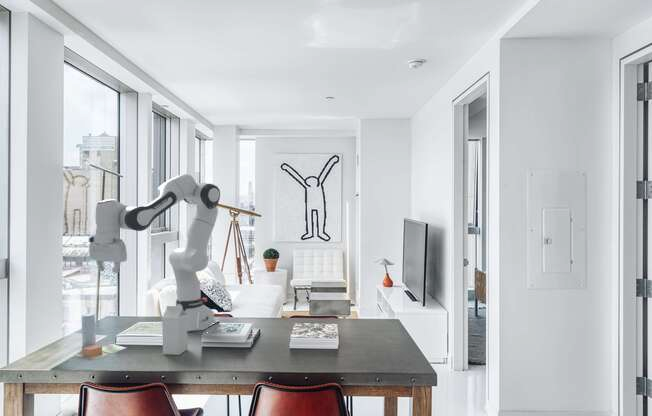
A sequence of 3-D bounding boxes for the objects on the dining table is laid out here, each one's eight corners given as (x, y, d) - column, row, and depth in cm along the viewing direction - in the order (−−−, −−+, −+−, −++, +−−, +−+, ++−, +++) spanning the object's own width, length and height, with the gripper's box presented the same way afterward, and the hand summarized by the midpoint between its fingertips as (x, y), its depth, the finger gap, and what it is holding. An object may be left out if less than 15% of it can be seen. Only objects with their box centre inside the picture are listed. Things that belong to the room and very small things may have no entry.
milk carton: (178, 355, 181) (177, 308, 181) (162, 354, 182) (161, 307, 182) (187, 349, 188) (186, 304, 187) (172, 348, 189) (171, 303, 189)
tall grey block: (91, 345, 195) (90, 313, 195) (98, 347, 193) (97, 314, 192) (79, 348, 191) (79, 316, 190) (86, 350, 188) (86, 317, 188)
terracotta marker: (94, 351, 184) (94, 344, 184) (102, 353, 181) (102, 346, 181) (82, 355, 179) (82, 347, 179) (90, 357, 177) (90, 349, 177)
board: (111, 346, 194) (111, 343, 194) (127, 350, 188) (127, 347, 188) (74, 357, 180) (74, 355, 180) (91, 362, 174) (91, 359, 174)
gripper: (130, 238, 184) (131, 272, 184) (100, 237, 194) (100, 269, 194) (116, 240, 178) (117, 274, 178) (86, 238, 188) (86, 271, 189)
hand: (108, 271), depth 186 cm, fingers open, 8 cm apart
